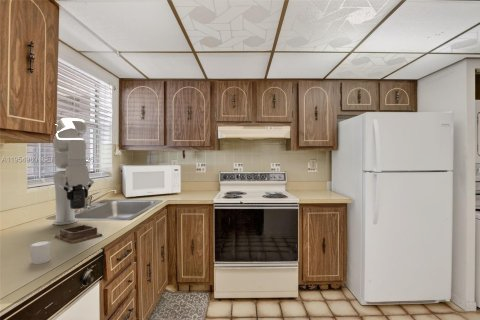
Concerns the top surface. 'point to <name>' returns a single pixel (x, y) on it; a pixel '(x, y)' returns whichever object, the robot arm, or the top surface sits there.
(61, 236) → the bottle cradle
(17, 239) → the top surface
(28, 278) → the top surface
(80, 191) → the supplement bottle
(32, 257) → the shot glass
